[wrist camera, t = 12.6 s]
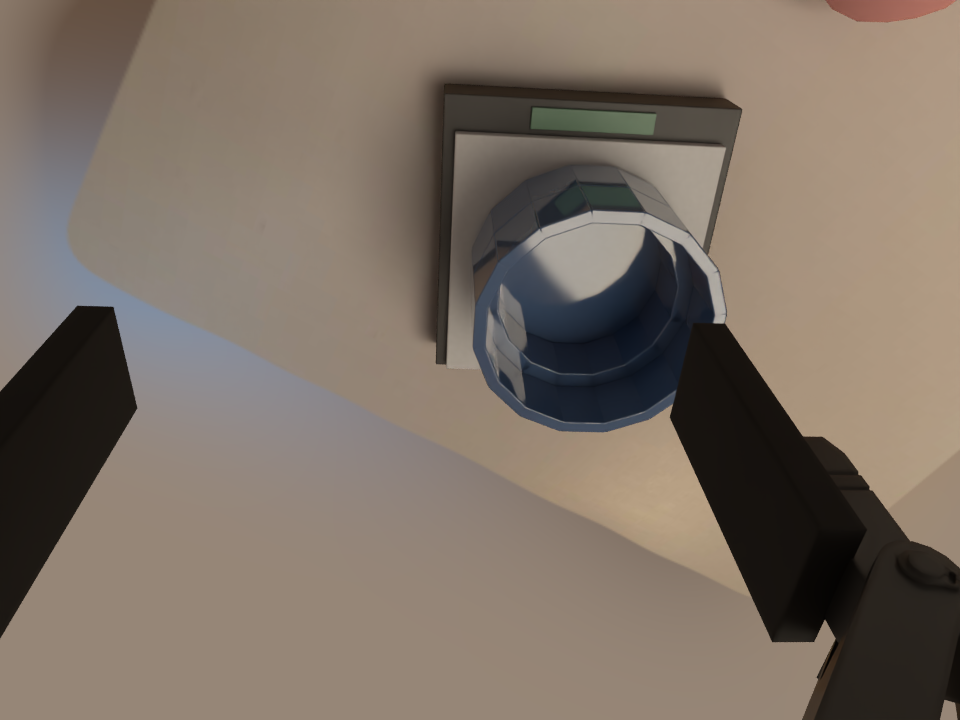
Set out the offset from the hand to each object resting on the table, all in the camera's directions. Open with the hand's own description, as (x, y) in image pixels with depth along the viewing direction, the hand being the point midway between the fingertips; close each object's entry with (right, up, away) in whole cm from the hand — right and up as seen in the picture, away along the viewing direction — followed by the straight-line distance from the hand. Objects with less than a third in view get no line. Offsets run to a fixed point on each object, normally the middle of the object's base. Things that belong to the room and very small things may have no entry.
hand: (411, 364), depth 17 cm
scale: (+7, +7, +24) cm, 25 cm away
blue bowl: (+7, +5, +21) cm, 23 cm away
